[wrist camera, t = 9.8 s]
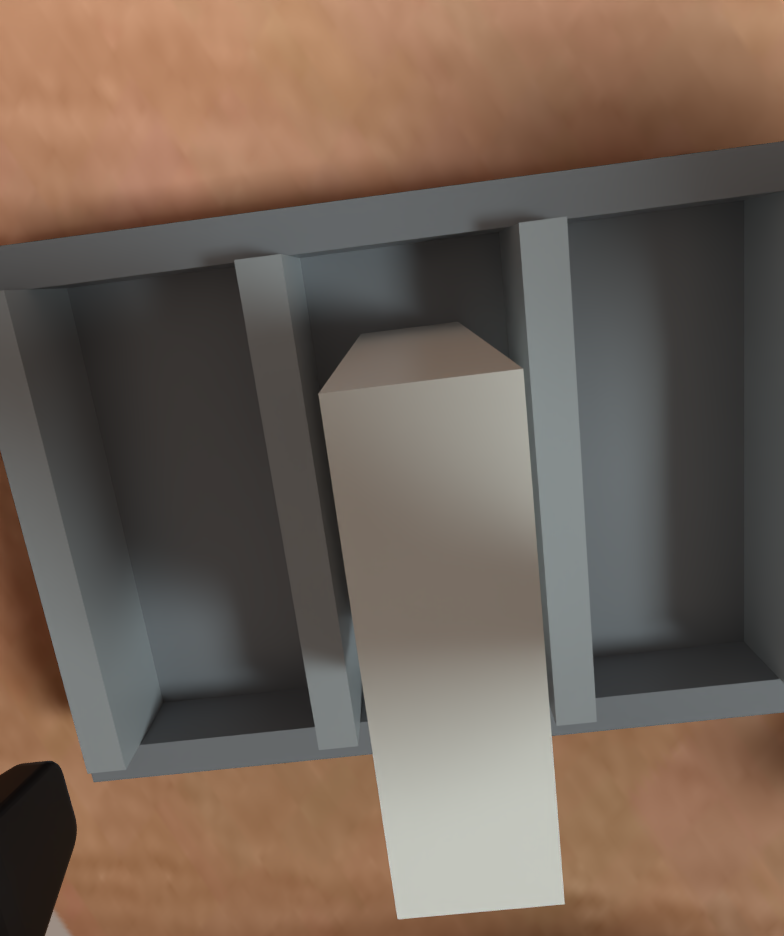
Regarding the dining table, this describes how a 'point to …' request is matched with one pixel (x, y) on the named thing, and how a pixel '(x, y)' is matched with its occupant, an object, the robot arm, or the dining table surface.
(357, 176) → the dining table surface
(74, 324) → the rack
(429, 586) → the white rectangular block
